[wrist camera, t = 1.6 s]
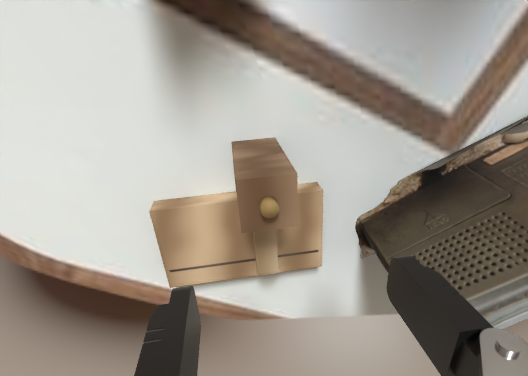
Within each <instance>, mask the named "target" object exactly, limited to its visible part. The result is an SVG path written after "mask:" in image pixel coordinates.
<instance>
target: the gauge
mask: <svg viewBox="0 0 528 376" xmlns="http://www.w3.org/2000/svg"><path fill="white" fill-rule="evenodd" d="M232 153H233V163H234V174H235V184H236V192H237V200H238V208H239V217H240V225H241V233H247V232H253V239H254V248H255V258H256V267H257V273H258V276H261V275H268V274H275V273H279V271H278V255H277V239H276V229H278V228H286V227H294V226H298V193H297V172H296V171H295V169H294V168H293V166H292V164H291V163H290V161H289V159H288V158H287V156H286V155H285V153H284V151H283V150H282V148H281V147H280V145H279V143H278V142H277V140H276V138H275V137H274V138H265V139H255V140H245V141H235V142H232Z"/></svg>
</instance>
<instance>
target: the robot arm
mask: <svg viewBox="0 0 528 376" xmlns="http://www.w3.org/2000/svg"><path fill="white" fill-rule="evenodd" d="M387 293H388V296H389V299H390V301H391V303H392V304H393V306H394V307H395V309H396V310H397V312H398V313H399V314H400V316H401V317H402V319H403V320H404V322H405V323H406V325H407V326H408V328H409V329H410V331H411V332H412V333H413V335H414V336H415V338H416V339H417V341H418V342H419V344H420V345H421V347H422V348H423V350H424V351H425V352H426V354H427V355H428V357H429V358H430V360H431V361H432V363H433V364H434V366H435V367H436V369H437V370H438V372H439V373H440V374H441V376H528V343H527V342H526V341H524V340H523V339H522V338H520V337H519V336H517V335H515V334H513V333H511V332H509V331H506V330H503V329H499V328H494V327H493V326H492V325H491V324H490V323H489V322H488V321H487V320H486V319H485V318H484V317H483V316H482V315H481V314H480V313H479V312H478V311H477V310H476V309H475V308H474V307H473V306H472V305H471V304H470V303H469V302H468V301H467V300H466V299H465V298H464V297H463V296H462V295H460V294H459V292H458V291H457V290H456V289H455V288H454V287H453V286H451V284H450V283H449V282H448V281H447V280H446V279H445V278H444V277H443V276H442V275H441V274H440V273H438V272H436V271H435V270H433V269H431V268H429V267H428V266H426V267H423V266H422V265H421V264H420V263H419V262H418V261H417V259H416V258H415V257H413V256H411V255H409V256H402V257H395V258H392V259H391V261H390V267H389V274H388V282H387ZM200 331H201V325H200V314H199V310H198V305H197V301H196V296H195V292H194V288H193V286H188V287H181V288H174V289H173V290H172V292H171V297H170V302H169V304H163V305H159V306H158V307H157V309H156V310H155V311H154V313H153V314H152V316H151V317H150V320H149V324H148V327H147V333H146V335H145V338H144V344H143V346H142V349H141V353H140V357H139V361H138V364H137V368H136V372H135V375H134V376H197V369H198V357H199V344H200Z"/></svg>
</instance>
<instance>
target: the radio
mask: <svg viewBox="0 0 528 376" xmlns="http://www.w3.org/2000/svg"><path fill="white" fill-rule="evenodd" d="M356 232H357V234H358V238H359V245H360V247H361V249H362V253H361V255H360V256H361V258H363V257H366V256H368V255H371V254H374V253H376V254H377V256H378V258H379V260H380V261H381V263H382V265H383V266H384V268H385V269H386V270H387V272H388V273H389V267H390V261H391V259H392V258H395V257H402V256H409V255H411V256H413V257H415V258H416V259H417V261H418V262H419V263H420V264H421V265H422V266H423V267H426V266H428V267H429V268H431V269H433V270H435V271H436V272H438V273H440V274H441V275H442V276H443V277H444V278H445V279H446V280H447V281H448V282H449V283H450V284H451V286H453V287H454V288H455V289H456V290H457V291H458V292H459V294H460V295H462V296H463V297H464V298H465V299H466V300H467V301H468V302H469V303H470V304H471V305H472V306H473V307H474V308H475V309H476V310H477V311H478V312H479V313H480V314H481V315H482V316H483V317H484V318H485V319H486V320H487V321H488V322H489V323H490V324H491V325H492V326H493V327H494V328H499V329H504V328H506V327H508V326H512V325H514V324H516V323H518V322H520V321H522V320H525V319H528V116H527V117H525V118H523V119H521V120H519V121H517V122H515V123H513V124H511V125H509V126H507V127H505V128H503V129H501V130H499V131H497V132H495V133H493V134H491V135H489V136H487V137H485V138H483V139H481V140H479V141H477V142H475V143H473V144H471V145H469V146H467V147H465V148H463V149H461V150H459V151H457V152H455V153H453V154H451V155H449V156H447V157H445V158H443V159H441V160H439V161H437V162H436V163H434V164H432V165H430V166H428V167H426V168H424V169H422V170H420V171H418V172H416V173H414V174H412V175H410V176H408V177H406V178H404V179H402V180H400V181H399V182H398V185H396V186H394V187H393V188H391V192H390V193H389V195H388V197H387V198H386V199H385V200H384V202H382V203H381V204H380V205H378V206H377V207H376V208H374V209H372V210H370V211H368V212H367V213H365V214H363V215H361V216H360V217H359V218H358V219H357V222H356Z"/></svg>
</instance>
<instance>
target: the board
mask: <svg viewBox="0 0 528 376" xmlns="http://www.w3.org/2000/svg"><path fill="white" fill-rule="evenodd" d="M297 193H298V226H294V227H286V228H278V229H276V239H277V255H278V271H279V272H284V271H291V270H298V269H305V268H312V267H319V266H322V223H323V190H322V188H321V187H320V186H319V184H318V183H317V182H314V183H306V184H297ZM149 212H150V216H151V219H152V223H153V227H154V230H155V234H156V238H157V242H158V245H159V249H160V253H161V256H162V260H163V264H164V268H165V271H166V275H167V279H168V282H169V286H170V288H172V287H179V286H186V285H193V284H200V283H207V282H214V281H221V280H228V279H235V278H242V277H249V276H256V275H258V273H257V267H256V258H255V248H254V239H253V232H247V233H241V225H240V217H239V208H238V200H237V192H229V193H220V194H212V195H203V196H195V197H186V198H177V199H169V200H160V201H154V203H153V205H152V207H151V209H150V211H149Z"/></svg>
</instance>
